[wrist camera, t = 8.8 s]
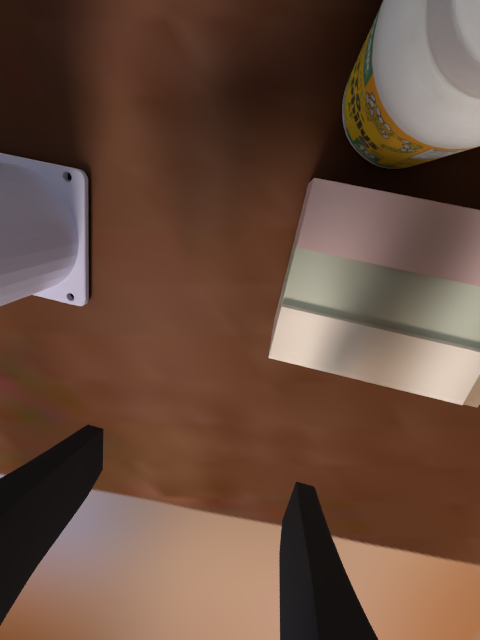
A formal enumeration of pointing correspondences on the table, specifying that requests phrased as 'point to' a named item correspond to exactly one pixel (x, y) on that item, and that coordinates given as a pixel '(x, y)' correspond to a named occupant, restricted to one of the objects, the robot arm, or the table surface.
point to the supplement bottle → (416, 83)
